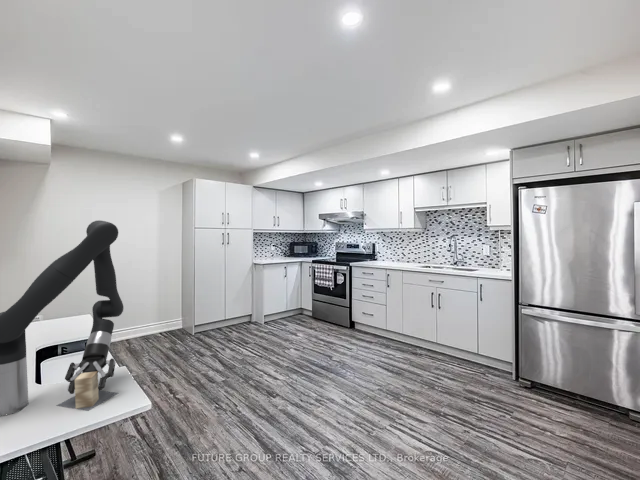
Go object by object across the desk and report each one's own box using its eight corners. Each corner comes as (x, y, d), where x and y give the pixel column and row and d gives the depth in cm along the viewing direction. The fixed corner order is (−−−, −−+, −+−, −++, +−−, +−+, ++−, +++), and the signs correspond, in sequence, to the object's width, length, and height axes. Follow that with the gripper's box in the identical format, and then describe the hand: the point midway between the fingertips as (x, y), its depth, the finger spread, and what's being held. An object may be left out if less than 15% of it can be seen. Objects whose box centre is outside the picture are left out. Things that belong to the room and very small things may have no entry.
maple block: (75, 408, 109) (74, 379, 108) (82, 401, 114) (81, 373, 113) (92, 406, 110) (91, 377, 110) (98, 398, 115) (97, 371, 114)
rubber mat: (56, 407, 111) (56, 405, 111) (89, 390, 122) (89, 388, 122) (88, 412, 107) (88, 410, 107) (119, 394, 119) (119, 393, 119)
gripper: (72, 344, 117) (56, 390, 106) (116, 340, 120) (106, 384, 110) (79, 353, 122) (65, 398, 111) (121, 348, 126) (112, 392, 115)
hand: (85, 391), depth 111 cm, fingers open, 8 cm apart
